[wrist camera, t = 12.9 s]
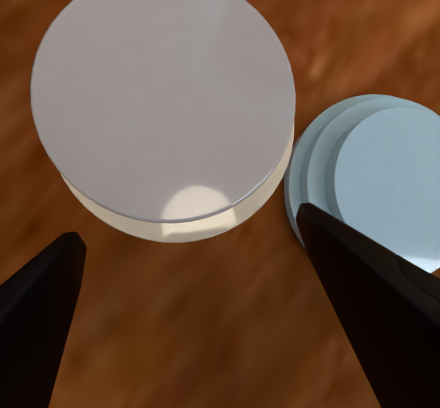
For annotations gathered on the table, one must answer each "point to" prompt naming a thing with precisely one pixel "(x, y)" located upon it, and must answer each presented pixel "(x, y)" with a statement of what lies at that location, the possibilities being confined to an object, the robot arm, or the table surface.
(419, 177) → the light blue stepped disc
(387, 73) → the table surface
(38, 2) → the table surface
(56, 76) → the sugar shaker
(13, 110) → the table surface
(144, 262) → the table surface
